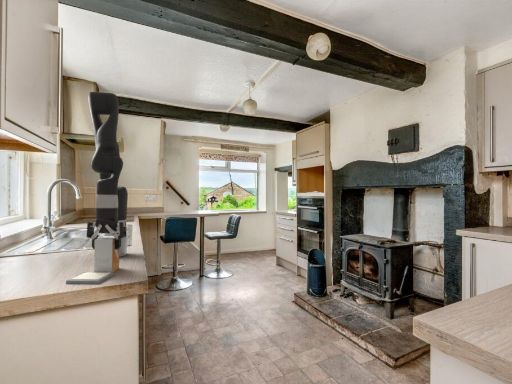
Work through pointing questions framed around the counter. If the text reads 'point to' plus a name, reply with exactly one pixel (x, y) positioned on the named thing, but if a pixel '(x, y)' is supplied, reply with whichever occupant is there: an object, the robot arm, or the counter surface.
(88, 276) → the board
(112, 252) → the small box
